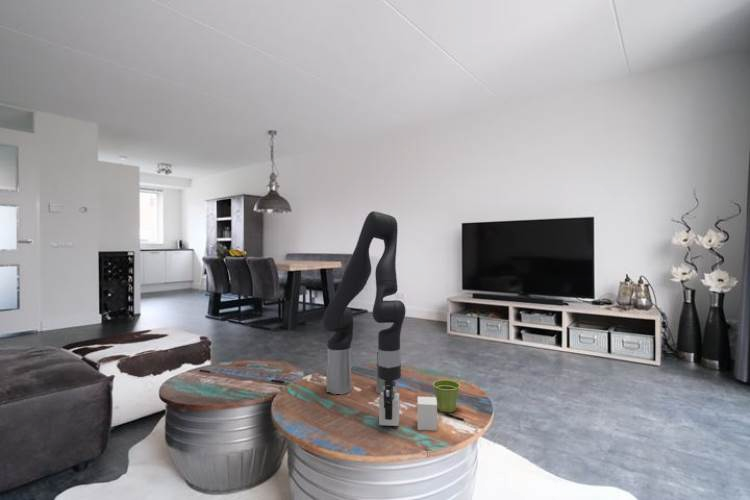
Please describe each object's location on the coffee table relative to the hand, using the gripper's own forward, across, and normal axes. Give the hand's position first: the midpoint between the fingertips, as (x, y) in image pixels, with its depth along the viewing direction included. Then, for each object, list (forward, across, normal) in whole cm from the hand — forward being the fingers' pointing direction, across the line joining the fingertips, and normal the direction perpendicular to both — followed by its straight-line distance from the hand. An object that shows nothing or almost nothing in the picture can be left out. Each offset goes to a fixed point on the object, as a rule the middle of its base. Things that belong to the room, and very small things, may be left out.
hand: (389, 414), depth 121 cm
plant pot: (+3, -13, +19) cm, 23 cm away
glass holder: (+3, -31, -3) cm, 31 cm away
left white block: (+2, 0, 0) cm, 2 cm away
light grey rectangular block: (+3, 0, +12) cm, 12 cm away
